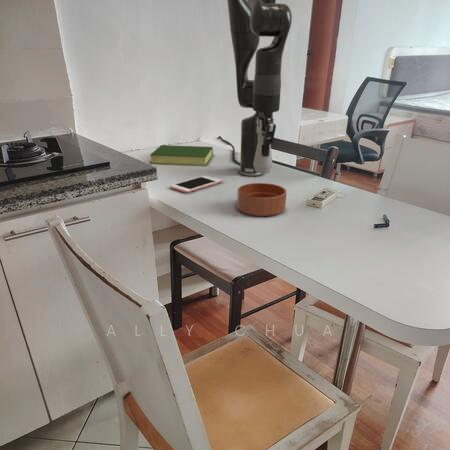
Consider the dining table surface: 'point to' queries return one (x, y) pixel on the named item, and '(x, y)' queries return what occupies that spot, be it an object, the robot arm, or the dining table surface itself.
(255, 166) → the salt shaker
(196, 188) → the cell phone
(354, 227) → the dining table surface
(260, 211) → the bowl
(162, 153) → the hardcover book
